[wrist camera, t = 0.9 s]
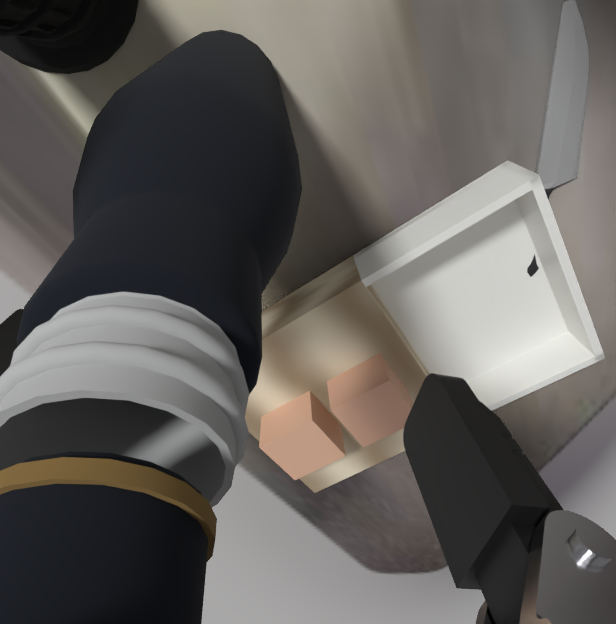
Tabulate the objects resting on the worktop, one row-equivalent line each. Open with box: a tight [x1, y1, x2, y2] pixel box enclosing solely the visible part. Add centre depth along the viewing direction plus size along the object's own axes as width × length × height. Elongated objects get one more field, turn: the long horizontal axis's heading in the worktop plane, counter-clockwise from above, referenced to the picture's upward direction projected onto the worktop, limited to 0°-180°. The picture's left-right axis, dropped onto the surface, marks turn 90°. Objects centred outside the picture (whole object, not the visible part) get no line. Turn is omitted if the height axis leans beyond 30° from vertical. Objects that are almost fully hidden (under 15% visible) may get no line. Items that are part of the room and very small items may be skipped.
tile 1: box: [259, 391, 346, 480], centre depth 32 cm, size 4×4×3 cm
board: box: [245, 256, 430, 493], centre depth 34 cm, size 14×16×4 cm
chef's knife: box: [527, 0, 589, 277], centre depth 27 cm, size 19×1×3 cm
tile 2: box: [327, 353, 413, 448], centre depth 30 cm, size 4×4×3 cm
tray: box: [353, 160, 605, 411], centre depth 31 cm, size 12×16×4 cm
